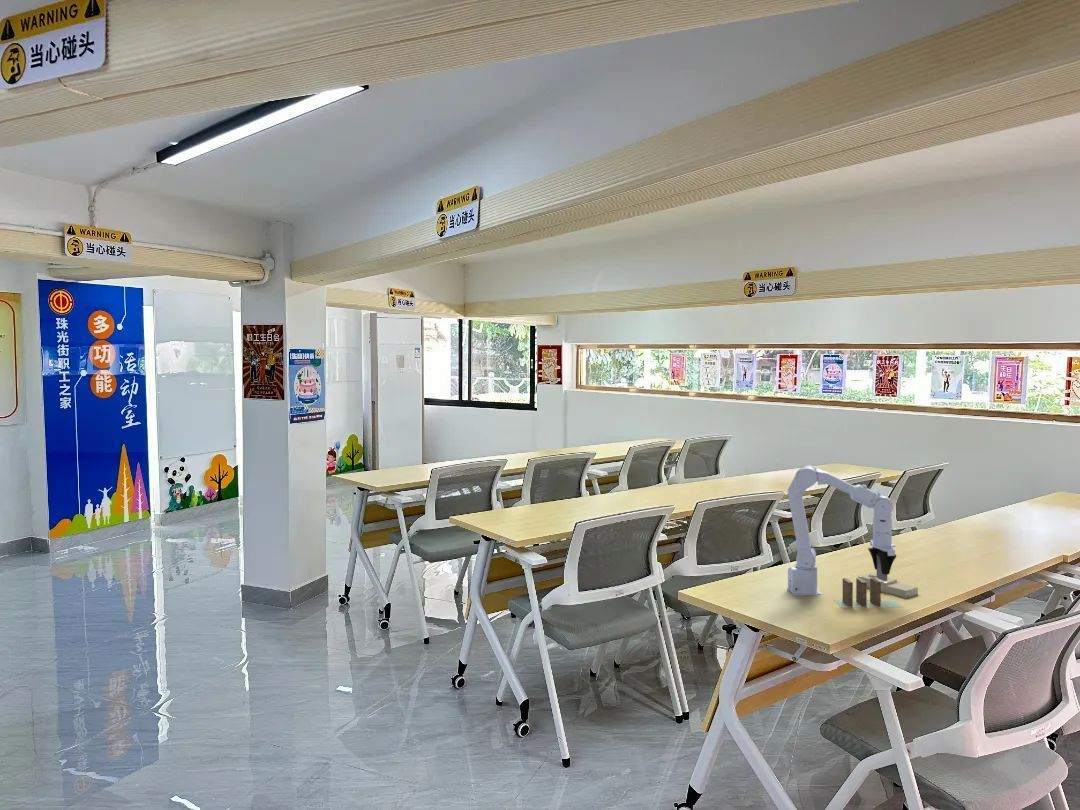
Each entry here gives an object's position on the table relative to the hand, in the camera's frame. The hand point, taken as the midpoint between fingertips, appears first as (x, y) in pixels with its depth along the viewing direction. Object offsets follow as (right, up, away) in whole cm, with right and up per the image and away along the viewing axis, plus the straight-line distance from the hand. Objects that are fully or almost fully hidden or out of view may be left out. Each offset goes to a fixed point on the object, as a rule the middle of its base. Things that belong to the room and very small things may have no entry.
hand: (881, 571), depth 246 cm
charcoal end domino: (0, -2, 0) cm, 2 cm away
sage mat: (-7, -10, -5) cm, 13 cm away
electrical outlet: (+7, -10, +10) cm, 16 cm away
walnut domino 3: (-5, -10, -5) cm, 12 cm away
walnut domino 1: (-14, -10, -5) cm, 17 cm away
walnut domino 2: (-9, -10, -5) cm, 14 cm away
